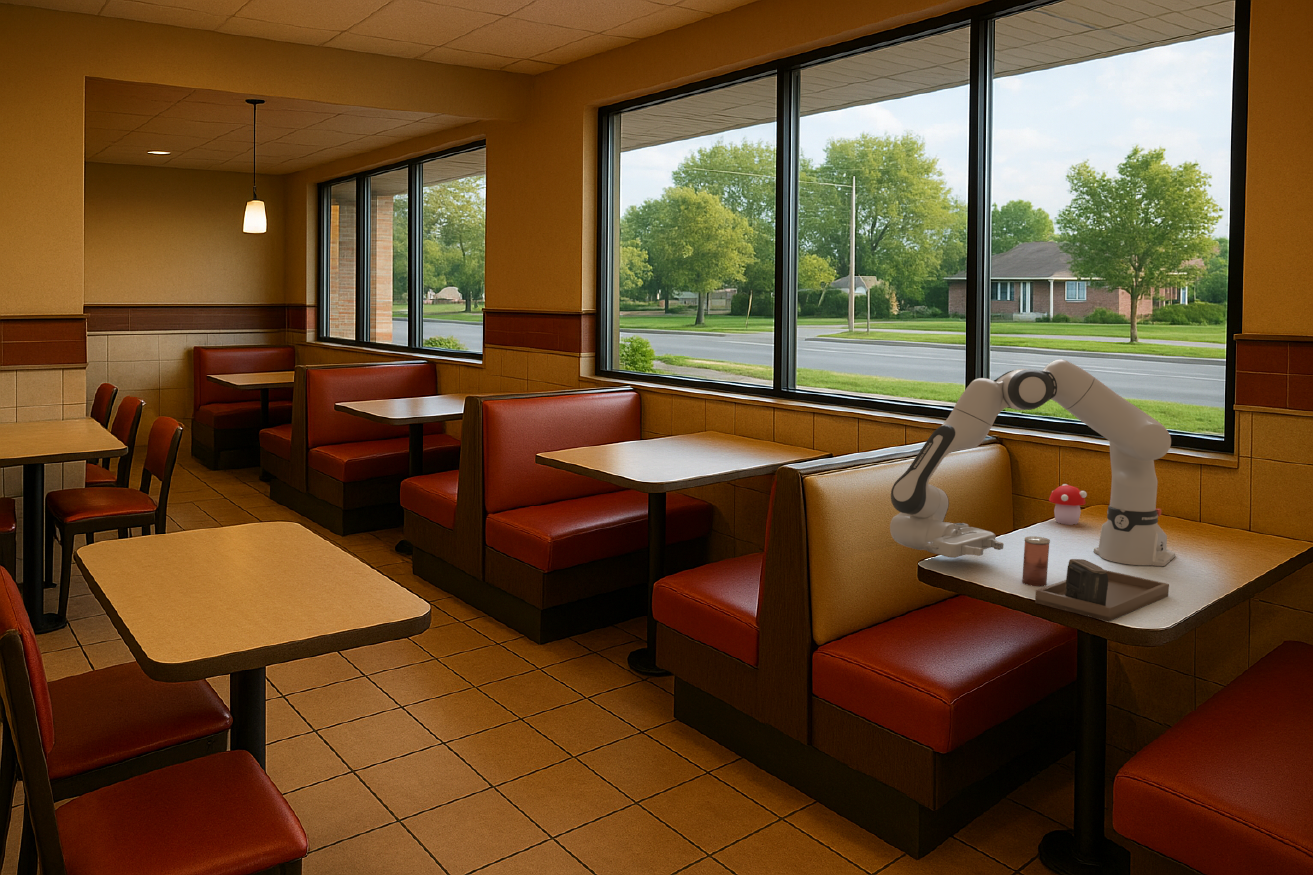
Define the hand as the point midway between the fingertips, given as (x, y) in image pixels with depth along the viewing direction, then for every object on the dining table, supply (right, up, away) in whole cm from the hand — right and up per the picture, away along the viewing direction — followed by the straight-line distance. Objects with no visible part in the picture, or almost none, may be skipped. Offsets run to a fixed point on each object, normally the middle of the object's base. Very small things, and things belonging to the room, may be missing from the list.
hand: (992, 549), depth 247 cm
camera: (+12, -10, -27) cm, 31 cm away
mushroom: (+44, +2, +59) cm, 74 cm away
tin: (+8, -7, -8) cm, 13 cm away
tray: (+19, -9, -21) cm, 30 cm away
